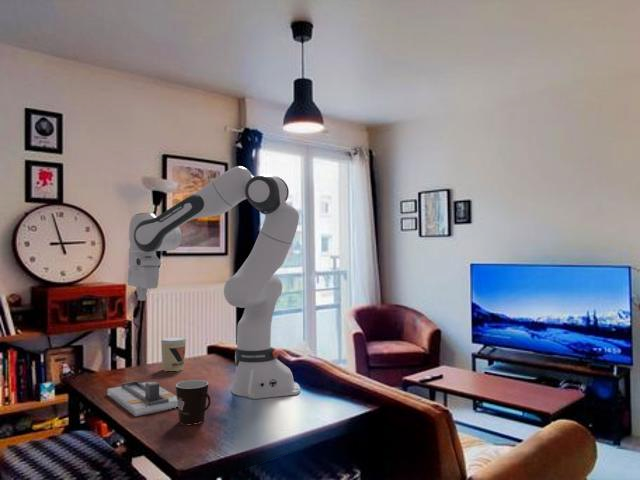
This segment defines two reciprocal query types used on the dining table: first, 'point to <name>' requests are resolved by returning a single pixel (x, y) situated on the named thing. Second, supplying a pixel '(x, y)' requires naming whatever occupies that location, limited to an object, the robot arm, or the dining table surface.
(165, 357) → the coffee cup
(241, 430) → the dining table surface
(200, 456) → the dining table surface
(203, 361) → the dining table surface
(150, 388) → the fader knob
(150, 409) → the console
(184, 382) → the coffee mug
